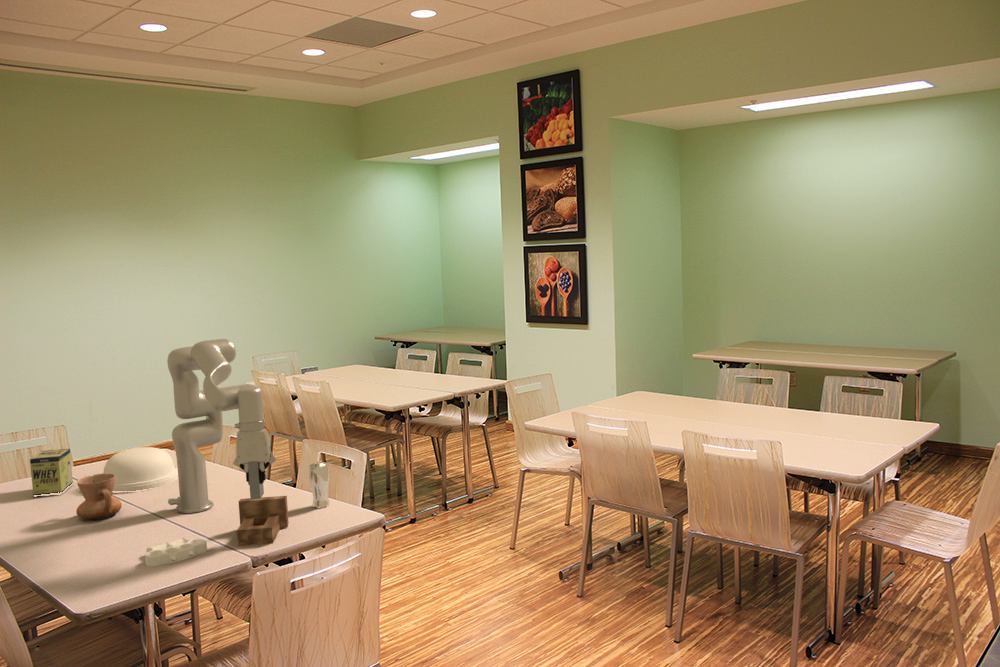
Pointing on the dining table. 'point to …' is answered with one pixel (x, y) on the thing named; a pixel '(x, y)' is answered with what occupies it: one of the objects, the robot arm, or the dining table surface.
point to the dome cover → (141, 469)
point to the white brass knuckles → (175, 551)
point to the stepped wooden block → (261, 519)
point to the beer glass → (319, 483)
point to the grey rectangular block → (255, 480)
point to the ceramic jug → (98, 497)
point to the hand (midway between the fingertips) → (256, 482)
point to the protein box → (51, 471)
